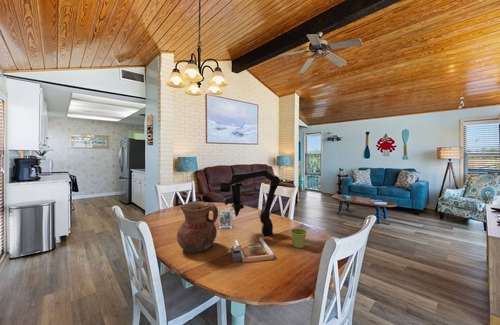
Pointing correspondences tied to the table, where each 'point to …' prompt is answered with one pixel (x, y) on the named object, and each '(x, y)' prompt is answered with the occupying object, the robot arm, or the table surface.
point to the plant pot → (298, 237)
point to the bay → (257, 258)
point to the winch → (236, 253)
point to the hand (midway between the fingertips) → (236, 216)
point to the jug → (197, 226)
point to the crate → (255, 249)
